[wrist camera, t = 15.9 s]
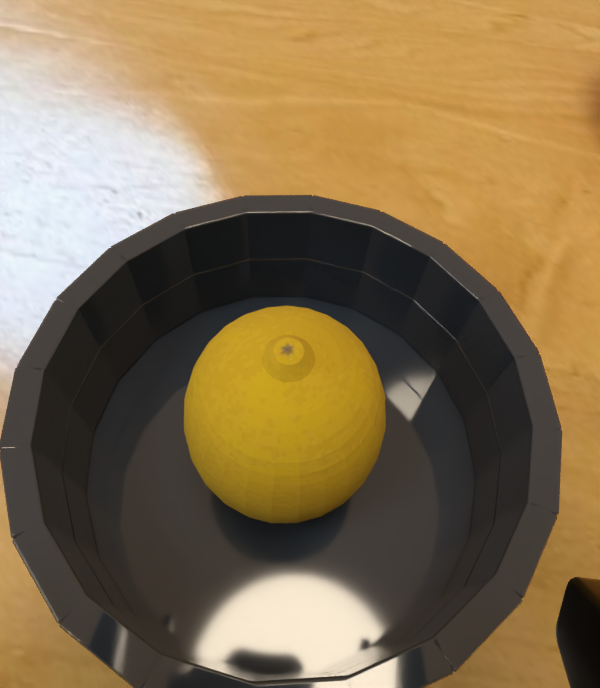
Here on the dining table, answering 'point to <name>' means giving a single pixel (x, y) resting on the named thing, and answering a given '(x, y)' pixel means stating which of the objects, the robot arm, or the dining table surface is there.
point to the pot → (280, 538)
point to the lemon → (284, 414)
